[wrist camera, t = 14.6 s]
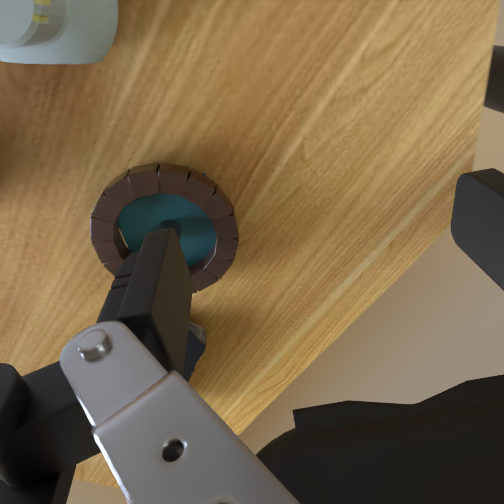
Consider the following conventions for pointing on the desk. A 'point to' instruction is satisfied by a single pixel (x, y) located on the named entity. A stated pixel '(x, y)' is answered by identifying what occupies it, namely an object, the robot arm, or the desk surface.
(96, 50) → the air freshener
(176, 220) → the post stand
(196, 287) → the ring
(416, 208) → the desk surface
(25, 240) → the desk surface
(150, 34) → the desk surface
